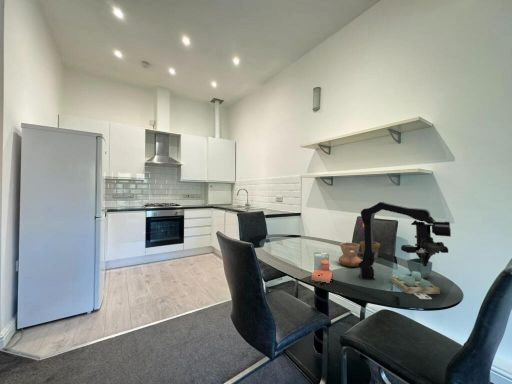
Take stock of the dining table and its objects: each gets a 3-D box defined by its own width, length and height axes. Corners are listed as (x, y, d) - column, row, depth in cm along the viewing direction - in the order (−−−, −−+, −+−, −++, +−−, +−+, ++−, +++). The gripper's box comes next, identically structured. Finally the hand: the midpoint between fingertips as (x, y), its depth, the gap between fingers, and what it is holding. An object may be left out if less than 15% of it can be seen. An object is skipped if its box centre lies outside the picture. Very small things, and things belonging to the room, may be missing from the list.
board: (406, 293, 106) (406, 288, 106) (390, 281, 121) (390, 276, 121) (440, 293, 105) (439, 288, 105) (419, 281, 120) (419, 276, 120)
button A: (400, 285, 115) (400, 277, 115) (396, 282, 119) (396, 274, 119) (408, 285, 115) (408, 277, 115) (404, 282, 119) (403, 274, 119)
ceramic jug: (365, 269, 140) (364, 247, 141) (340, 268, 143) (340, 246, 144) (358, 261, 158) (357, 241, 158) (336, 260, 161) (336, 241, 161)
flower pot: (421, 280, 121) (420, 263, 122) (406, 274, 130) (406, 259, 130) (433, 278, 124) (432, 262, 124) (418, 273, 132) (417, 258, 132)
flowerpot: (355, 254, 174) (354, 216, 175) (371, 253, 177) (370, 215, 177) (368, 259, 160) (366, 218, 161) (385, 258, 163) (383, 217, 163)
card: (420, 298, 101) (420, 297, 101) (413, 294, 106) (413, 293, 106) (432, 299, 100) (432, 298, 100) (424, 294, 105) (424, 293, 105)
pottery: (329, 285, 119) (328, 266, 119) (311, 282, 123) (311, 264, 123) (334, 274, 134) (334, 258, 135) (318, 272, 139) (318, 256, 139)
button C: (414, 281, 114) (414, 273, 114) (410, 278, 118) (409, 271, 118) (422, 281, 114) (422, 273, 114) (418, 278, 118) (417, 271, 118)
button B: (408, 287, 108) (407, 278, 108) (403, 283, 112) (403, 275, 112) (416, 287, 108) (416, 279, 108) (411, 283, 112) (411, 275, 112)
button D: (423, 291, 107) (423, 283, 107) (418, 287, 111) (418, 279, 111) (432, 291, 107) (432, 283, 107) (426, 288, 111) (426, 280, 111)
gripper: (413, 237, 102) (414, 271, 102) (456, 237, 101) (458, 271, 100) (400, 233, 114) (401, 264, 113) (439, 233, 112) (440, 264, 111)
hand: (424, 266), depth 109 cm, fingers closed
